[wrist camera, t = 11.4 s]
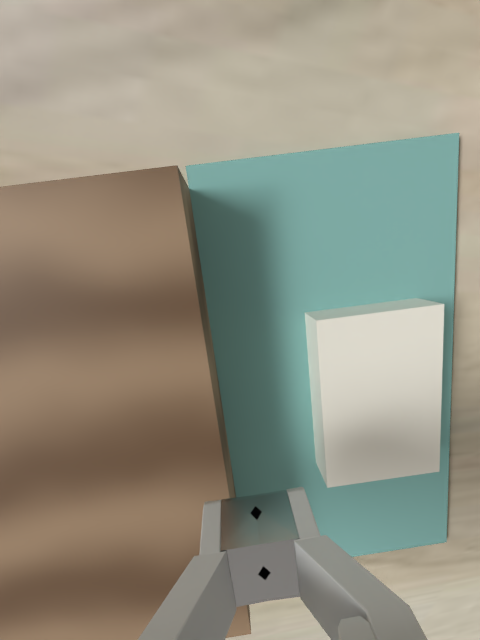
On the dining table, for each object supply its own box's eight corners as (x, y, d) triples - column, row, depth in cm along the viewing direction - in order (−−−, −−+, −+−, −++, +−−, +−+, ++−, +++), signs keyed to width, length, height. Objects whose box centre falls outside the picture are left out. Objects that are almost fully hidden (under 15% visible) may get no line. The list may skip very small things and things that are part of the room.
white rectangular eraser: (444, 303, 14) (416, 297, 16) (316, 320, 14) (304, 312, 15) (439, 471, 16) (415, 447, 18) (327, 487, 15) (315, 461, 17)
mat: (186, 167, 14) (185, 165, 14) (454, 135, 14) (459, 132, 14) (247, 568, 19) (247, 573, 19) (443, 537, 20) (446, 542, 19)
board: (-108, 227, 14) (-239, 215, 10) (189, 190, 14) (177, 165, 10) (24, 590, 19) (-29, 678, 15) (245, 555, 19) (251, 633, 15)
